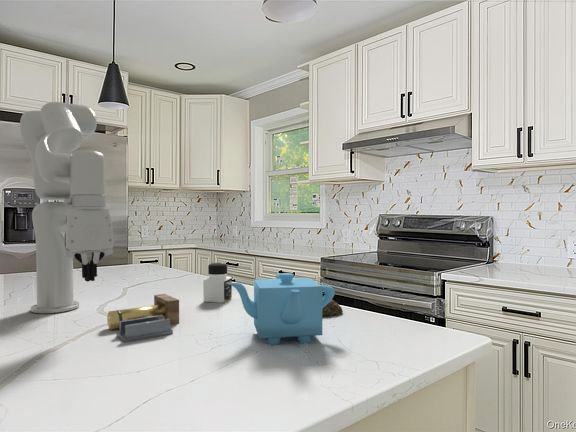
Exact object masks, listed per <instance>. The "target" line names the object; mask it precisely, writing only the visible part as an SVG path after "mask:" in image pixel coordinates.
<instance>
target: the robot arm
mask: <svg viewBox="0 0 576 432" xmlns="http://www.w3.org/2000/svg"><path fill="white" fill-rule="evenodd" d="M97 122H98V121H97V116H96V112H94V110H93V109H92V108H90V106H86V105H83V104H77V103H76V104H75V103H69V102H61V101H50V102H46V103H45V104H44V105H42V106H41V108H40V110H28V111H26V112H24V113H23V114H22V115H21V117H20V121H19V124H20V126H19V128H20V129H19V130H20V135H21V136H20V137H21V139H22V142H23V145H24V147H25V148H26V150H27V152H28V155H29V157H30V160H31V168H32V169H31V170H32V178H33V185H34V191H35V194H36V196H37V197H38V198H39V199H41V200H43V201H44V200H45V201H46V202H45V201H44V202H41V203H38V204H37V205H35V206H34V208H33V210H32V212H31V221H32V225H33V228H34V229H33V231H34V237H35V253H36V254H35V255H36V256H35V257H36V261H35V262H36V263H35V264H36V304H33V305H32V306H30V312H31V313H35V314H54V313H63V312H69V311H72V310H76V309H78V308H79V307H80V302H78V301H77V300H74V259H75V260H76V261H78V262H79V263H80V264H81V276H82V279H84V281H85V282H90V281H91V282H95V281H96V277H98V264H99V262H100V261H101V260H102V259H103V258H104V257H107V256H111V255H112V254H114V249H113V247H114V242H115V241H114V229H113V221H112V215H111V212H110V211H111V210H110V208H107V207H106V158H105V155H104V154H103V153H102V152H99V151H95V150H78V149H79V148H80V147H81V145H82V143H83V142H84V140H86V139H88V138H90V137H91V136H92V135H94V133H95V132H96V130H97V125H98V123H97ZM75 150H76V151H75ZM106 208H107V209H106ZM87 252H91V256H90V260H89V259H88V254H87ZM88 260H89V261H88Z"/></svg>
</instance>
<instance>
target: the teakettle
mask: <svg viewBox="0 0 576 432" xmlns="http://www.w3.org/2000/svg"><path fill="white" fill-rule="evenodd" d="M294 275H295V274H294V273H290V272H283V273H278V272H277V273H276V274H275V276H276V278H264V279H262V278H261V279H254V280H253V300H252V299H251V298H250V296H249V294H248V291H247V288H246V287H245V285H244V284H242V283H240V282H232V283H227V284H229V285H231V286H232V288H233V287H234V289H236V291H237V292H238V294H239V296H240V300H241V304H242V306H243V308H244V311H245V313H246V314H248V315H249V317H251V318H253V324H254V327H255V330H256V333H257V336H258V339H267V341H266V344H267V345H269V344H270V346H277V344H278V345H279V344H281V338H295V337H297V341H298V342H299V343H300V344H309V343H312V342H313V341H312V339H311V336H313V337H314V336H323V317H322V308H323V307H325V306H326V305H327V304H328V303H329V302H330V301H331V300H332V299H333V298H334V296H335V294H336V290H335V289H334V287H332V286H330V285H324V284H319V283H318V282H316V281H315V280H314V279H312V278H311V277H299V278H298V277H296V278H295V277H294ZM323 291H324V295H323ZM322 296H324V297H323V299H322Z"/></svg>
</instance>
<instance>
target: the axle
mask: <svg viewBox="0 0 576 432" xmlns="http://www.w3.org/2000/svg"><path fill="white" fill-rule="evenodd" d="M156 315H163V319H165V304H161V305H154V304H153V305H147V306H141V307H140V306H139V307H134V308H133V307H132V308H125V309H116V310H111V311H110V310H109V311H108V312H107V327H108V330H110V331H111V330H112V331H113V330H119V321H123V320H130V319H137V318H143V317H150V316H156Z"/></svg>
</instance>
